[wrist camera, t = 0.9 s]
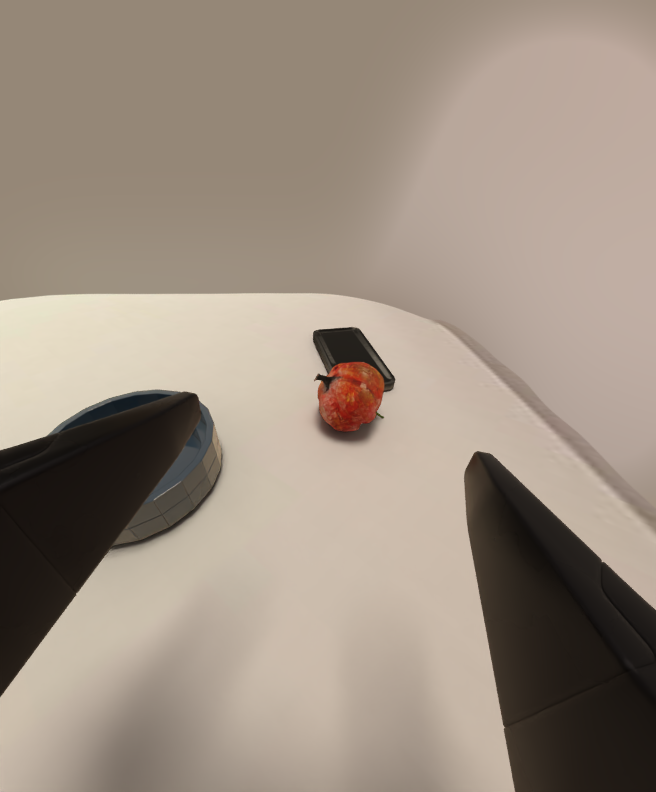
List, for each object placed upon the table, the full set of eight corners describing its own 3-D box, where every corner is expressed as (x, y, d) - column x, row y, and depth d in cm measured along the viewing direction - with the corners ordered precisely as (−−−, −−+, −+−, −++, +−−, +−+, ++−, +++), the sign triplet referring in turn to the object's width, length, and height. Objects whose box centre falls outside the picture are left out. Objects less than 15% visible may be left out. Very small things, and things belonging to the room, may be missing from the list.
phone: (358, 326, 47) (398, 382, 36) (357, 332, 48) (396, 389, 37) (311, 330, 45) (339, 389, 34) (310, 336, 46) (338, 397, 35)
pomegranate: (362, 408, 37) (301, 366, 33) (408, 380, 33) (344, 327, 29) (360, 457, 32) (288, 416, 28) (414, 432, 28) (338, 378, 24)
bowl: (140, 580, 20) (112, 555, 17) (19, 506, 23) (-22, 474, 20) (249, 447, 29) (243, 415, 26) (152, 408, 32) (137, 375, 29)
